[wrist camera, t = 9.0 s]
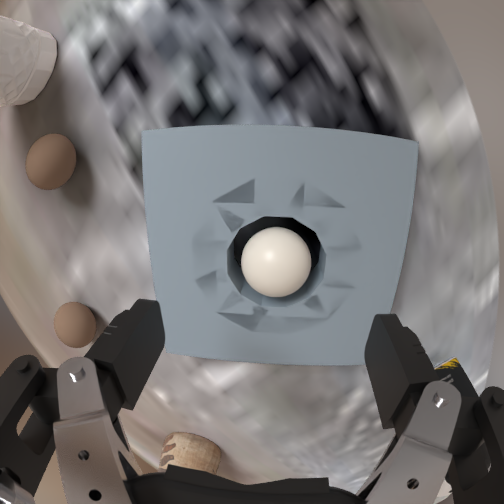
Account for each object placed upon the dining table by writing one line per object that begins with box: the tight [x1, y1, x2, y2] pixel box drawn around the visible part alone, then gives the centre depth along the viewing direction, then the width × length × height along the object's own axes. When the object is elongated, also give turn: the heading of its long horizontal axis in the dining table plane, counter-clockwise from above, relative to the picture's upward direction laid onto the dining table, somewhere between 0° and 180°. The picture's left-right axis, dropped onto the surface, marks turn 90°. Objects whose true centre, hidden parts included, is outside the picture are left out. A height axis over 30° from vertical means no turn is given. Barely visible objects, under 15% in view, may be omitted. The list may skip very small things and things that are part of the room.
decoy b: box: [54, 302, 96, 348], centre depth 20 cm, size 4×4×4 cm
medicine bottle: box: [434, 357, 491, 497], centre depth 17 cm, size 7×7×12 cm
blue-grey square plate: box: [142, 125, 419, 366], centre depth 17 cm, size 15×15×2 cm
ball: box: [241, 227, 311, 297], centre depth 16 cm, size 4×4×4 cm
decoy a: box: [26, 134, 76, 190], centre depth 15 cm, size 4×4×4 cm
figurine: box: [158, 432, 221, 475], centre depth 23 cm, size 7×7×12 cm
